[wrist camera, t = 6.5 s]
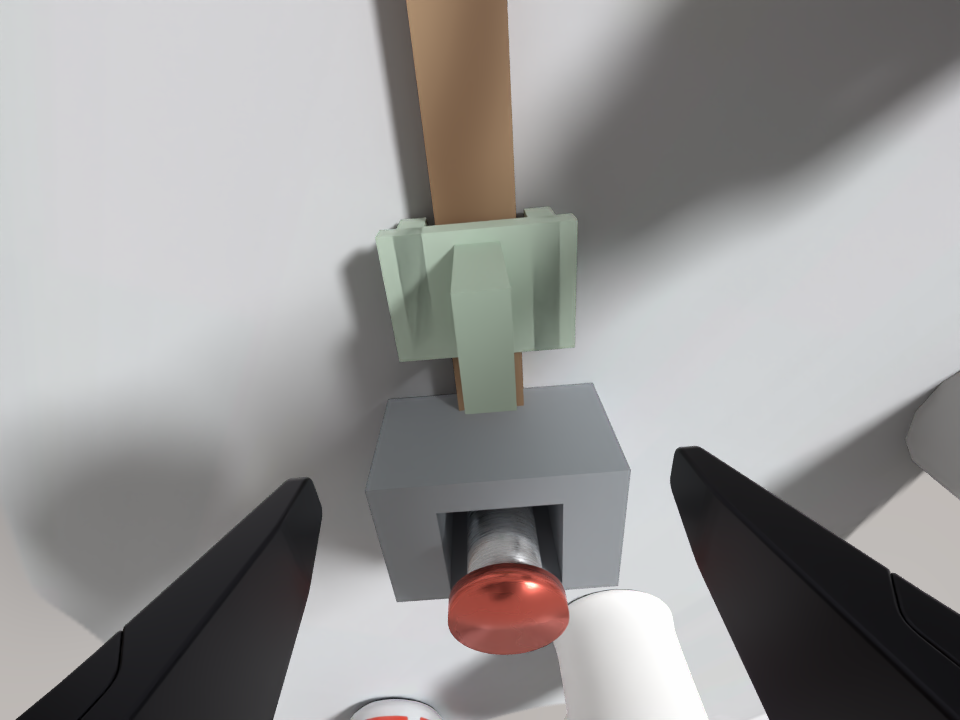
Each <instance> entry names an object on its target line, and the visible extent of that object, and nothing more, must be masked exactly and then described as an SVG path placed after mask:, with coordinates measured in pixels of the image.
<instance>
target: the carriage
mask: <svg viewBox="0 0 960 720" xmlns="http://www.w3.org/2000/svg"><path fill="white" fill-rule="evenodd" d="M577 231H578V219H577V218H576V217H575V216H574V215H573V214H572V213H569V214H558V215H555V213H554V212H553V211H552V209H551V208H550V207H538V208H527V209H524V218H513V219H502V220H490V221H479V222H468V223H457V224H445V225H434V226H427V218H415V219H404V220H401V221H400V222H399V224H398V226H397V228H396V229H389V230H380V231H379V232H378V234H377V236H376V237H375V240H376V245H377V250H378V255H379V260H380V265H381V270H382V275H383V281H384V286H385V291H386V296H387V301H388V306H389V311H390V316H391V321H392V326H393V332H394V337H395V342H396V347H397V352H398V357H399V362H407V361H419V360H431V359H443V358H455V357H458V359H459V367H460V375H461V384H462V392H463V400H464V408H465V414H477V413H490V412H502V411H514V410H517V402H516V382H515V363H514V353H515V352H527V351H539V350H551V349H563V348H575V314H576V272H577Z"/></svg>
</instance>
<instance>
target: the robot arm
mask: <svg viewBox="0 0 960 720" xmlns="http://www.w3.org/2000/svg"><path fill="white" fill-rule="evenodd" d="M670 484H671V489H672V493H673V496H674V499H675V502H676V504H677V507H678V510H679V513H680V516H681V519H682V522H683V525H684V528H685V531H686V534H687V537H688V540H689V543H690V546H691V549H692V552H693V554H694V557H695V560H696V563H697V565H698V567H699V569H700V572H701V574H702V576H703V578H704V581H705V583H706V585H707V587H708V589H709V591H710V593H711V596H712V598H713V600H714V602H715V604H716V606H717V608H718V611H719V613H720V615H721V617H722V619H723V621H724V624H725V626H726V628H727V630H728V632H729V634H730V636H731V639H732V641H733V643H734V645H735V647H736V649H737V651H738V654H739V656H740V658H741V660H742V662H743V664H744V666H745V669H746V671H747V673H748V675H749V677H750V679H751V681H752V684H753V686H754V688H755V690H756V692H757V694H758V696H759V699H760V701H761V703H762V705H763V707H764V709H765V711H766V714H767V716H768V718H769V720H960V614H958V613H957V612H955V611H954V610H952V609H951V608H949V607H947V606H946V605H944V604H942V603H941V602H939V601H938V600H936V599H934V598H933V597H931V596H930V595H928V594H926V593H925V592H923V591H922V590H920V589H919V588H917V587H915V586H914V585H913V584H911V583H909V582H908V581H906V580H905V579H903V578H902V577H900V576H899V575H897V574H896V573H891V574H890V571H889V569H887V568H886V567H885V566H883V565H882V564H880V563H878V562H877V561H875V560H874V559H872V558H871V557H869V556H868V555H866V554H865V553H863V552H861V551H860V550H858V549H857V548H855V547H854V546H852V545H851V544H849V543H848V542H846V541H845V540H843V539H841V538H840V537H838V536H837V535H835V534H834V533H832V532H831V531H829V530H828V529H826V528H824V527H823V526H821V525H820V524H818V523H817V522H815V521H814V520H812V519H811V518H809V517H808V516H806V515H804V514H803V513H801V512H800V511H798V510H797V509H795V508H794V507H792V506H791V505H789V504H787V503H786V502H784V501H783V500H781V499H780V498H778V497H777V496H775V495H774V494H772V493H770V492H769V491H767V490H766V489H764V488H763V487H761V486H760V485H758V484H757V483H755V482H754V481H752V480H750V479H749V478H747V477H746V476H744V475H743V474H741V473H740V472H738V471H737V470H735V469H733V468H732V467H730V466H729V465H727V464H726V463H724V462H723V461H721V460H720V459H718V458H717V457H715V456H713V455H712V454H710V453H709V452H707V451H706V450H704V449H703V448H701V447H698V446H688V447H679V448H677V449H676V451H675V453H674V459H673V465H672V471H671V476H670ZM321 520H322V507H321V503H320V501H319V498H318V495H317V492H316V489H315V487H314V484H313V482H312V480H311V479H310V478H308V477H303V478H292V479H288V480H287V481H285V482H284V483H283V484H282V485H281V486H280V487H279V488H278V489H277V490H275V491H274V492H273V493H272V494H271V495H270V496H269V497H268V498H266V499H265V500H264V501H263V502H262V503H261V504H260V505H259V506H258V507H256V508H255V509H254V510H253V511H252V512H251V513H250V514H249V515H248V516H246V517H245V518H244V519H243V520H242V521H241V522H240V523H239V524H238V525H236V526H235V527H234V528H233V529H232V530H231V531H230V532H229V533H228V534H226V535H225V536H224V537H223V538H222V539H221V540H220V541H219V542H218V543H216V544H215V545H214V546H213V547H212V548H211V549H210V550H209V551H208V552H206V553H205V554H204V555H203V556H202V557H201V558H200V559H199V560H198V561H196V562H195V563H194V564H193V565H192V566H191V567H190V568H189V569H187V570H186V571H185V572H184V573H183V574H182V575H181V576H180V577H179V578H177V579H176V580H175V581H174V582H173V583H172V584H171V585H170V586H169V587H167V588H166V589H165V590H164V591H163V592H162V593H161V594H160V595H159V596H157V597H156V598H155V599H154V600H153V601H152V602H151V603H150V604H149V605H147V606H146V607H145V608H144V609H143V610H142V611H141V612H140V613H139V614H137V615H136V616H135V617H134V618H133V619H132V620H131V621H130V622H129V623H127V624H126V625H125V626H124V628H123V631H118V632H117V633H116V634H115V635H114V636H113V637H112V638H110V639H109V640H108V641H107V642H106V643H105V644H104V645H103V646H102V647H100V648H99V649H98V650H97V651H96V652H95V653H94V654H93V655H92V656H90V657H89V658H88V659H87V660H86V661H85V662H83V663H82V664H81V665H80V666H79V667H78V668H77V669H76V670H74V671H73V672H72V673H71V674H70V675H68V676H67V677H66V678H65V679H64V680H63V681H62V682H60V683H59V684H58V685H57V686H56V687H55V688H53V689H52V690H51V691H50V692H49V693H47V694H46V695H45V696H44V697H43V698H41V699H40V700H39V701H38V702H36V703H35V704H34V705H33V706H32V707H30V708H29V709H28V710H27V711H26V712H24V713H23V714H22V715H21V716H20V717H18V718H17V719H16V720H273V718H274V714H275V711H276V707H277V704H278V700H279V697H280V693H281V690H282V686H283V683H284V679H285V676H286V672H287V669H288V665H289V662H290V658H291V655H292V651H293V648H294V644H295V641H296V637H297V634H298V630H299V627H300V623H301V620H302V616H303V613H304V609H305V606H306V602H307V598H308V594H309V589H310V584H311V579H312V573H313V567H314V561H315V556H316V550H317V544H318V538H319V532H320V526H321Z"/></svg>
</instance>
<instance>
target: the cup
mask: <svg viewBox="0 0 960 720" xmlns="http://www.w3.org/2000/svg"><path fill="white" fill-rule="evenodd" d="M905 441H906V444H907V447H908V450H909V453H910V455H911V458H912V461H913V462H914V463H916V464H917V465H918V466H919V467H920V468H922V469H923V470H924V471H925V472H926V473H928V474H929V475H930V476H931V477H933V478H934V479H935V480H936V481H938V482H939V483H940V484H941V485H942V486H944V487H945V488H946V489H947V490H949V492H951V493H952V494H953V495H954V496H956V497H957V498H958V499H959V500H960V371H959V372H958V373H956V374H955V375H953V376H951V377H950V378H948V379H947V380H945V381H943V382H942V383H941V384H940V385H939V386H938V387H937V388H936V390H935V391H934V392H933V393H932V394H931V395H930V396H929V397H928V398H927V400H926V401H925V402H924V403H923V404H922V405H921V406H920V407H919V408H918V409H917V411H916V412H915V414H914V417H913V419H912V422H911V425H910V428H909V431H908V433H907V436H906V439H905Z"/></svg>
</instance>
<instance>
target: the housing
mask: <svg viewBox="0 0 960 720" xmlns="http://www.w3.org/2000/svg"><path fill="white" fill-rule="evenodd" d="M523 396H524V406H517V410H514V411H502V412H490V413H477V414H465V410H463V411H459V406H458V399H457V394H450V395H438V396H426V397H413V398H401V399H389V400H388V403H387V407H386V411H385V415H384V418H383V422H382V426H381V430H380V434H379V438H378V442H377V446H376V450H375V454H374V458H373V461H372V465H371V469H370V473H369V477H368V481H367V485H366V489H365V493H366V496H367V500H368V503H369V507H370V510H371V514H372V517H373V521H374V524H375V528H376V531H377V535H378V538H379V542H380V545H381V549H382V552H383V556H384V559H385V563H386V566H387V570H388V573H389V577H390V580H391V584H392V587H393V591H394V594H395V598H396V601H397V602H406V601H419V600H433V599H446V598H449V595H450V592H451V590H452V588H453V586H454V585H455V584H456V583H457V582H458V581H459V580H460V579H461V578H462V577H464V576H465V575H467V511H475V510H488V509H501V508H514V507H527V506H532V507H533V513H534V519H535V526H536V532H537V538H538V544H539V551H540V557H541V563H542V569H544V570H546V571H548V572H550V573H551V574H553V575H554V576H555V577H557V578H558V579H559V581H560V582H561V583H562V585H563V587H564V590H569V589H583V588H596V587H610V586H618V581H619V572H620V563H621V554H622V545H623V536H624V527H625V518H626V509H627V500H628V491H629V482H630V473H631V470H630V467H629V465H628V463H627V460H626V458H625V456H624V453H623V451H622V449H621V447H620V444H619V442H618V440H617V437H616V435H615V433H614V430H613V428H612V426H611V424H610V421H609V419H608V417H607V414H606V412H605V410H604V407H603V405H602V403H601V401H600V398H599V396H598V394H597V391H596V389H595V387H594V384H593V383H584V384H572V385H560V386H548V387H535V388H523Z"/></svg>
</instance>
